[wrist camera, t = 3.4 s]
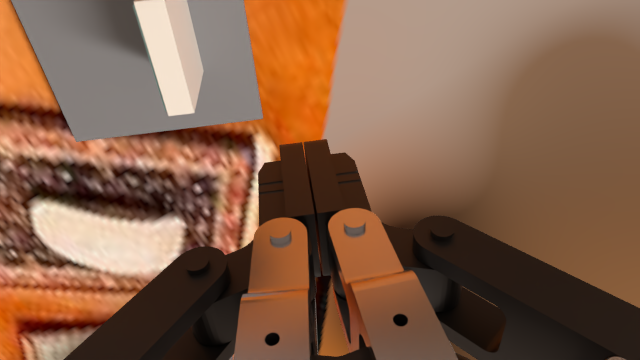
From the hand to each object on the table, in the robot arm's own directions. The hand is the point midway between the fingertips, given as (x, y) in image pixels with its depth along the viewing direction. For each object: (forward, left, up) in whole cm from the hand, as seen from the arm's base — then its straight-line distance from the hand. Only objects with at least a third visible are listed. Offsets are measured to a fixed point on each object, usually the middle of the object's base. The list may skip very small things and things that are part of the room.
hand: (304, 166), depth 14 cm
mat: (0, -9, -17) cm, 19 cm away
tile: (0, -6, -17) cm, 18 cm away
